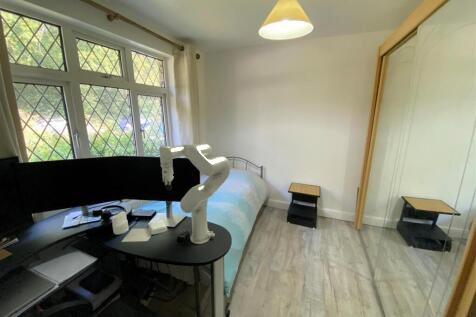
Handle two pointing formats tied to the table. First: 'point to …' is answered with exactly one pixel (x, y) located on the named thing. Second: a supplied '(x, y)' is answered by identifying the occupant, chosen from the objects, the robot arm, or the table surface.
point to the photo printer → (157, 227)
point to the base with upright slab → (120, 223)
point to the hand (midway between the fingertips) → (168, 190)
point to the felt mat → (138, 235)
